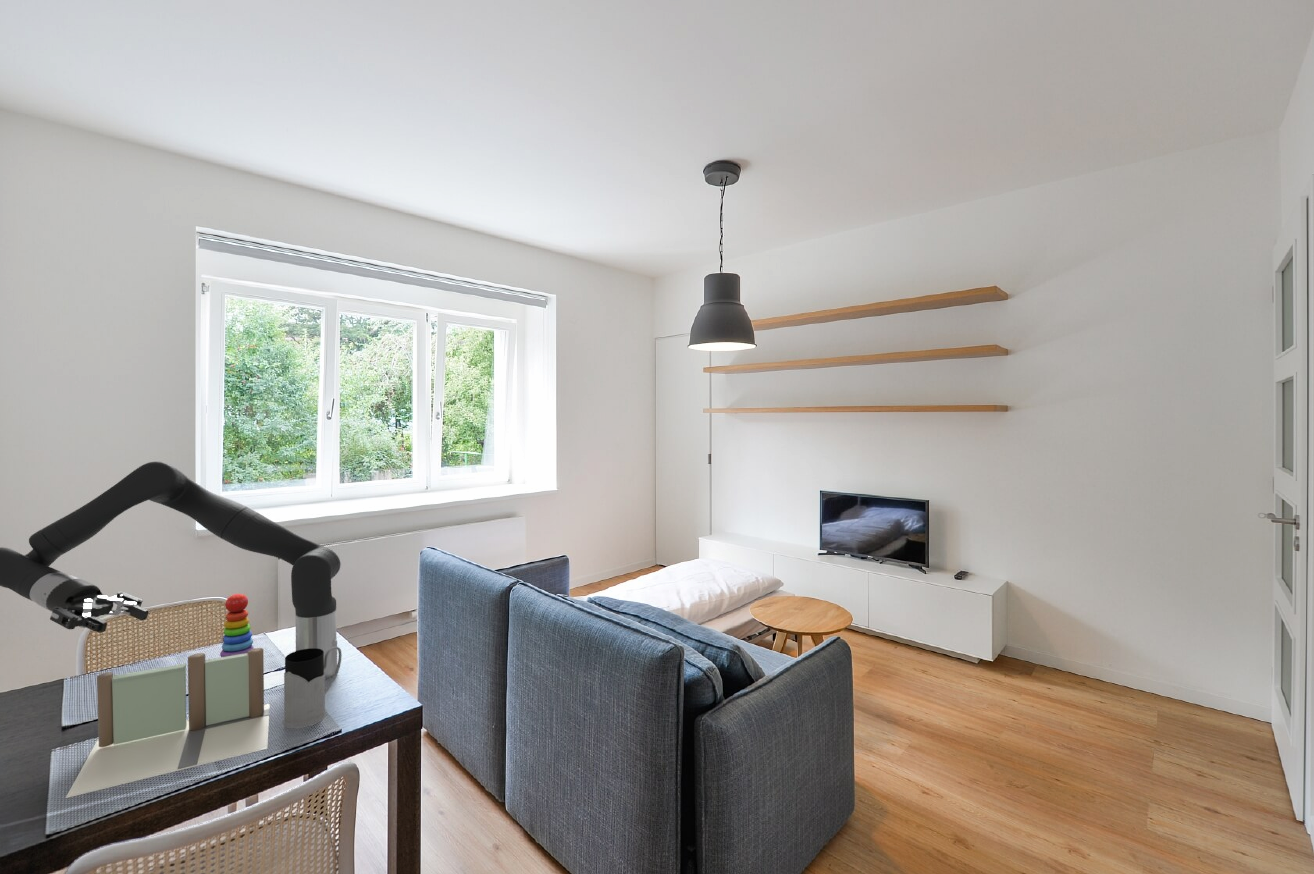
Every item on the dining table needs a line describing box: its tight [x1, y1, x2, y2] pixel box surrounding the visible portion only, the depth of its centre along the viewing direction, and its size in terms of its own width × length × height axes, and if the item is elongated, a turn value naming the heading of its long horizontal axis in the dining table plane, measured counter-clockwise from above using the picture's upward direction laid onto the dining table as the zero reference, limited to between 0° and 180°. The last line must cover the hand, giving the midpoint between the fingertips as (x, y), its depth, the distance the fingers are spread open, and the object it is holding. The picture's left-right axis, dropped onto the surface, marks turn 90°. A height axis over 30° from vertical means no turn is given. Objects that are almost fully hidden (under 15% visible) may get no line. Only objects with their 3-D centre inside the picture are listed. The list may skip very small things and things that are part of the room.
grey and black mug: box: [282, 646, 343, 729], centre depth 134 cm, size 9×14×15 cm, turn 162°
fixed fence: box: [187, 647, 265, 731], centre depth 129 cm, size 14×3×16 cm, turn 123°
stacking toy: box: [219, 593, 255, 658], centre depth 160 cm, size 8×8×19 cm
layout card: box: [65, 703, 271, 799], centre depth 121 cm, size 30×21×1 cm
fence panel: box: [96, 663, 188, 747], centre depth 122 cm, size 14×2×15 cm, turn 122°
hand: (126, 621), depth 125 cm, fingers open, 8 cm apart
